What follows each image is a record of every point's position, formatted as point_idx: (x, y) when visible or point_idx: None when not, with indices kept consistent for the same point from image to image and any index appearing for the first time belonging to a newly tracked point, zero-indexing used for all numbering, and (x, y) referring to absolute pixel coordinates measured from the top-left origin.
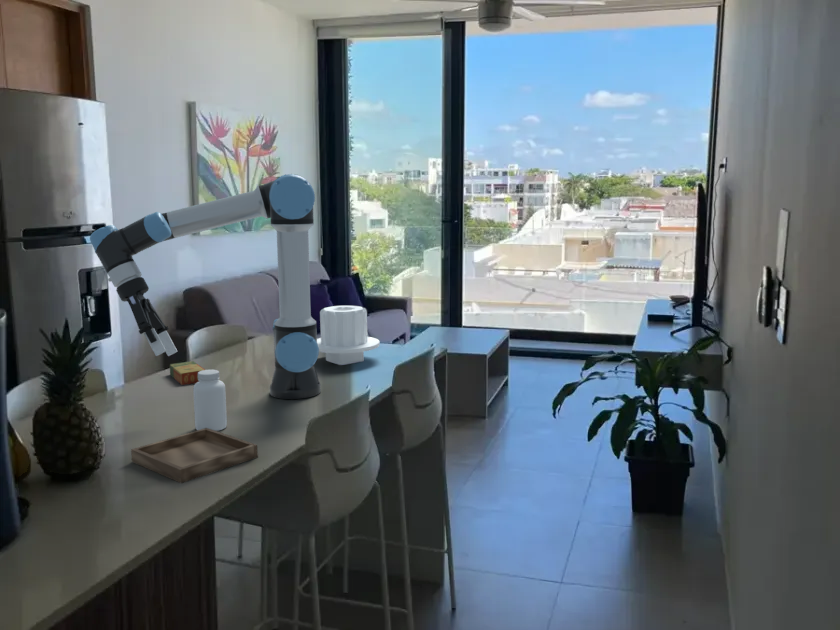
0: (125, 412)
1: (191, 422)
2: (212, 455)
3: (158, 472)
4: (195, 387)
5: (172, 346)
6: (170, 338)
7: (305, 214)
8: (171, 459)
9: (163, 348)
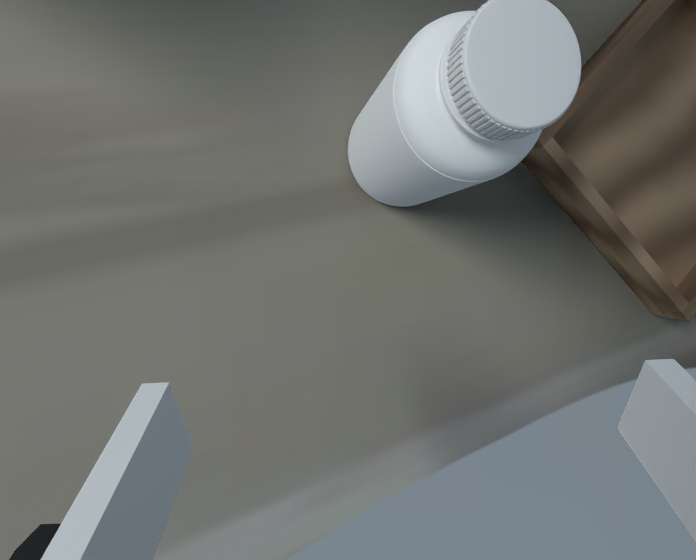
0: (176, 533)
1: (327, 239)
2: (676, 98)
3: None
4: (520, 160)
5: (146, 450)
6: (67, 537)
7: None
8: (688, 206)
9: (694, 386)
